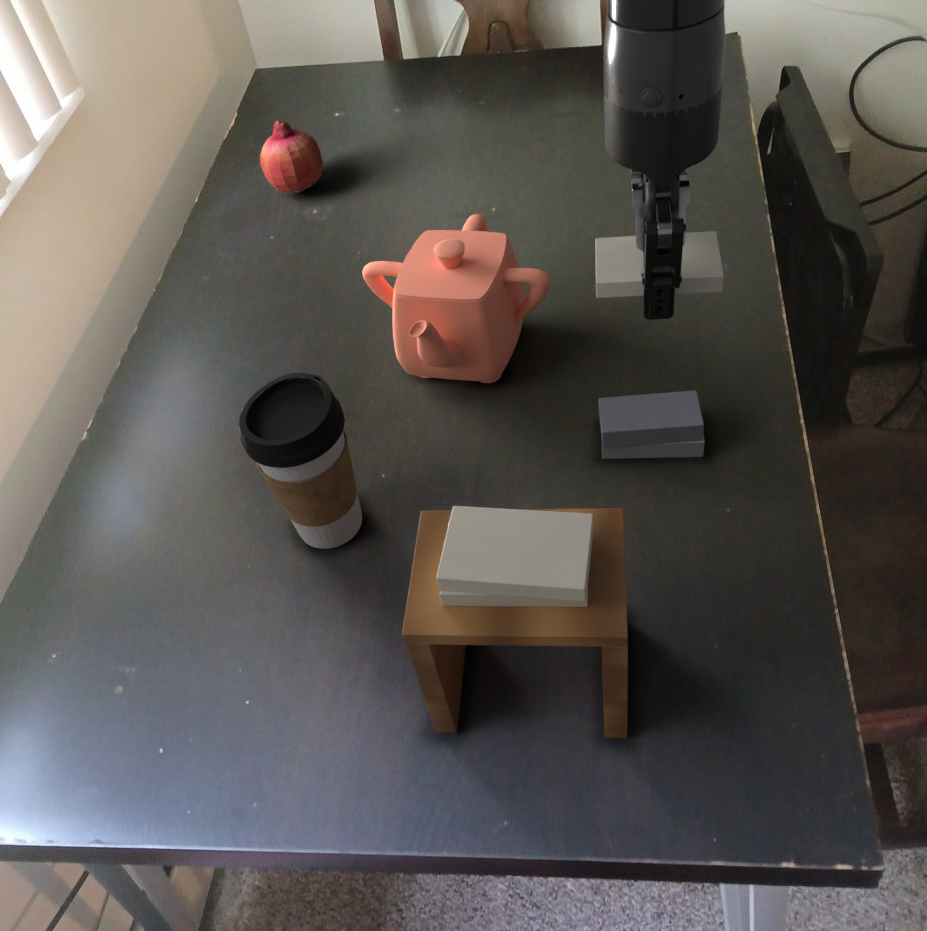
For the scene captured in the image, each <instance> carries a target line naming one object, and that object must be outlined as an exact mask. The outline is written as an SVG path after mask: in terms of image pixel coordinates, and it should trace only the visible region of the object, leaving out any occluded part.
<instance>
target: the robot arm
mask: <svg viewBox="0 0 927 931" xmlns="http://www.w3.org/2000/svg"><path fill="white" fill-rule="evenodd" d="M725 1H726V0H606V1H605V2H606V3H605V4H606V14H605V15H606V16H605V17H606V18H605V28H604V36H603V51H602V55H603V56H602V60H603V62H602V63H603V64H602V65H603V118H604V120H603V122H604V125H603V126H604V147H605V150H606V152H607V154H608V156H609V157H610V158H611V160H613V162H615V163H616V164H618V165H620V166H621V167H624V168H626V169H628V170H630V172H629V173H630V176H629V177H630V188H631V205H632V207H633V209H634V210H635V213H634V215H635V218H634V219H635V220H634V221H635V225H634V226H635V228H634V229H635V236H636V246H637V248H638V249H639V250H641V251H643V270H641V277H643V278H642V285H644V296H643V302H642V304H643V308H642V310H643V318H644V319H646V320H648V321H654V320H670V319H671V318H673V317H674V313H675V295H676V294H675V288H680V283H682V275H681V265H682V252H683V246H684V245H685V242H686V233H687V207H688V206H689V204H690V202H691V179H690V178H688V169H689V168H691V167H693V166H696V165H698V164H699V163H701V162H703V161H704V160H706V159H707V158H708V157H709V156H710V155H711V154H712V153H714V152H713V151H714V150H715V149H716V147H717V144H718V141H719V130H720V120H721V119H720V118H721V106H722V95H723V82H724V68H725V59H726V58H725V57H726V42H727V40H726V22H725Z"/></svg>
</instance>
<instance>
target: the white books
mask: <svg viewBox="0 0 927 931" xmlns="http://www.w3.org/2000/svg"><path fill="white" fill-rule="evenodd" d="M451 510H452V513H451V517H450V521H449V523H448V530H447V534H446V538H445V542H444V547H443V551H442V555H441V559H440V564H439V568H438V572H437V576H436V579H437V583H438V587H439V590H440V598H441V601H442V605H443V606H522V607H587V606H588V577H589V568H590V558H591V549H592V539H593V530H594V519H593V514H588V513H571V512H553V511H536V510H518V509H517V508H497V507H483V506H482V507H481V506H466V505H465V506H462V505H453V506H452V508H451Z"/></svg>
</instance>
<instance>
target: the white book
mask: <svg viewBox="0 0 927 931" xmlns="http://www.w3.org/2000/svg"><path fill="white" fill-rule="evenodd" d="M594 247H595V297H596V299H605V298H626V297H644V285H642V278H643V277H641V270H643V251H641V250H639V249H638V248H637V246H636V235H626V236H625V235H624V236H610V237H595V246H594ZM681 275H682V283H680V288H675V295H685V294H706V293H708V294H709V293H722V292H723V289H724V280H725V279H724V278H725V275H724V270H723V263H722V258H721V252H720V245H719V239H718V233H717V230H710V231H709V230H708V231H693V232H686V242H685V245H684V246H683V252H682V265H681Z"/></svg>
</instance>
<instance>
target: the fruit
mask: <svg viewBox="0 0 927 931" xmlns="http://www.w3.org/2000/svg"><path fill="white" fill-rule="evenodd" d="M271 133H272V135H270V136H269V137H268V138H267V139H266V140H265V142H264V144H263V146H262V148H261V150H260V154H259V164H260V169H261V170H262V172H263V174H264V176H265V178H266V181H267V182H268V183H269V184H270V185H271V186H272V187H273V188H274V189H276V190H277V191H279V192H281V193H284V192H295V191H300V190H302V189H304V188H307V187H308V188H310V187H311V186H310V185H312V184H313V185H315V184H316V183H317V182H318V180H319V179H320V178H321V176H322V172H323V165H324V160H323V157H322V152H321V150H320V147H319V144H318V142H317V141H316V140H315V139H314V137H313V136H312V135H310V134H309V133H308V132H305V131H303V130H300V129H297V128H294V129H293V128H292V126H291V125H290V124H289V123H288V122H287V121H286V120H284V119H276V120H275V122H274V124H273V128H272V132H271ZM315 182H316V183H315ZM314 183H315V184H314ZM313 185H312V186H313ZM309 186H310V187H309ZM308 188H307V189H308ZM301 192H302V191H300V192H296V193H295V194H298V193H301Z"/></svg>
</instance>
